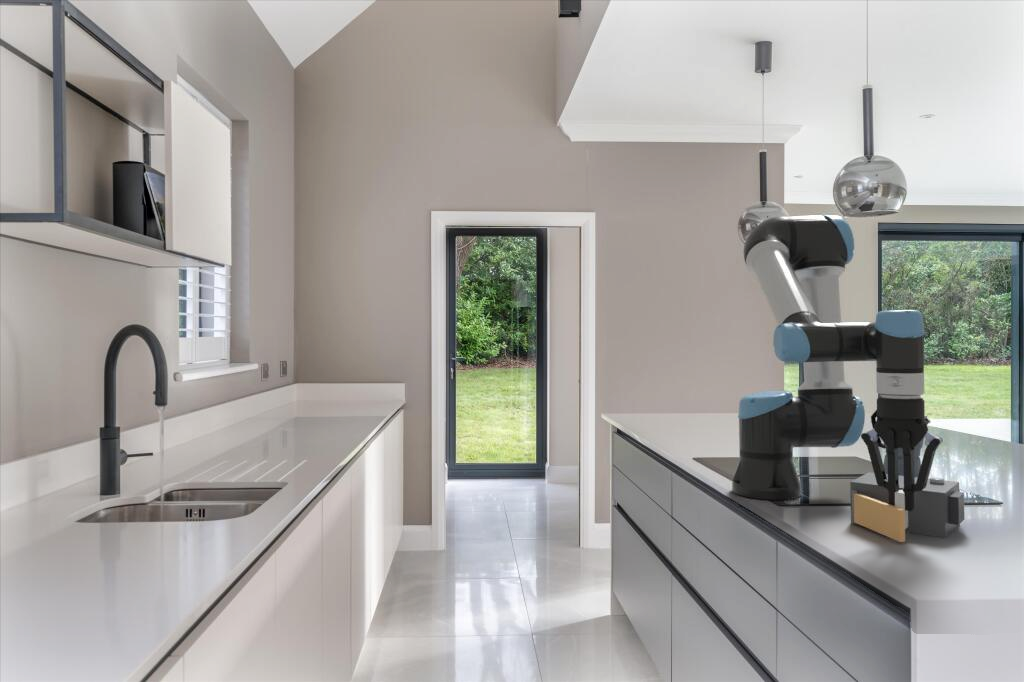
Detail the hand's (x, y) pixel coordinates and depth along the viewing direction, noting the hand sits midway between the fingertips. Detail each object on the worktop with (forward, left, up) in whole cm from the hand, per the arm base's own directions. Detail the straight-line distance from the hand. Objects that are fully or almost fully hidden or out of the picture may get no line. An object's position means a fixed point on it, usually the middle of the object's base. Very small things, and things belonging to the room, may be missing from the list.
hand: (901, 527), depth 128 cm
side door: (-4, 0, -2) cm, 5 cm away
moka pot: (-11, +44, -2) cm, 45 cm away
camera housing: (-2, +11, -2) cm, 11 cm away
